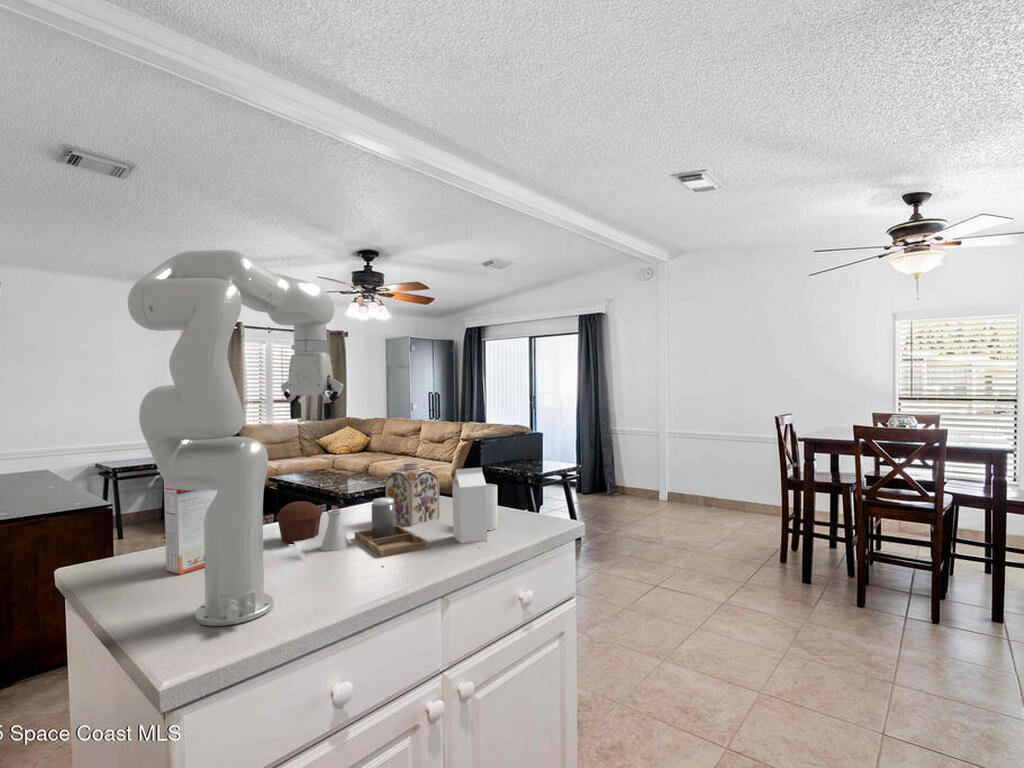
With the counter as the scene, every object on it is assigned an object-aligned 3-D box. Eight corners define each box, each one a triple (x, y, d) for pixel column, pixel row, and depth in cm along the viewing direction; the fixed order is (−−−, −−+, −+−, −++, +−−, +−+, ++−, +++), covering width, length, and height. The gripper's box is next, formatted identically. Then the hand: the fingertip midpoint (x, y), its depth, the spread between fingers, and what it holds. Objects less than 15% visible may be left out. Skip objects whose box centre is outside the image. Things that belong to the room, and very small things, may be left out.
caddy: (428, 552, 132) (428, 541, 132) (381, 561, 125) (381, 550, 125) (398, 534, 149) (398, 525, 149) (354, 541, 142) (354, 532, 142)
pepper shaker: (399, 539, 140) (398, 500, 140) (376, 543, 137) (375, 503, 137) (390, 534, 145) (390, 496, 145) (368, 538, 142) (368, 499, 142)
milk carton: (487, 543, 138) (486, 469, 138) (460, 547, 136) (459, 471, 136) (478, 536, 145) (477, 465, 145) (453, 540, 142) (452, 467, 142)
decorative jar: (411, 530, 153) (410, 466, 153) (384, 524, 160) (383, 463, 160) (441, 521, 163) (440, 461, 163) (414, 516, 170) (413, 458, 170)
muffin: (329, 534, 150) (328, 498, 150) (313, 545, 139) (313, 506, 139) (286, 534, 151) (286, 498, 151) (267, 546, 139) (267, 507, 140)
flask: (340, 556, 130) (340, 514, 130) (313, 555, 131) (312, 513, 132) (355, 547, 137) (354, 508, 137) (329, 546, 139) (328, 507, 139)
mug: (503, 528, 154) (502, 485, 154) (485, 532, 149) (484, 489, 149) (479, 522, 161) (479, 481, 161) (462, 526, 156) (461, 484, 156)
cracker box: (224, 554, 133) (223, 469, 133) (239, 558, 130) (238, 470, 130) (163, 571, 121) (162, 477, 121) (178, 575, 118) (177, 479, 118)
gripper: (270, 349, 131) (272, 419, 131) (331, 347, 126) (333, 420, 126) (291, 350, 138) (293, 417, 139) (350, 348, 133) (352, 417, 133)
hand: (312, 418), depth 132 cm, fingers open, 9 cm apart
